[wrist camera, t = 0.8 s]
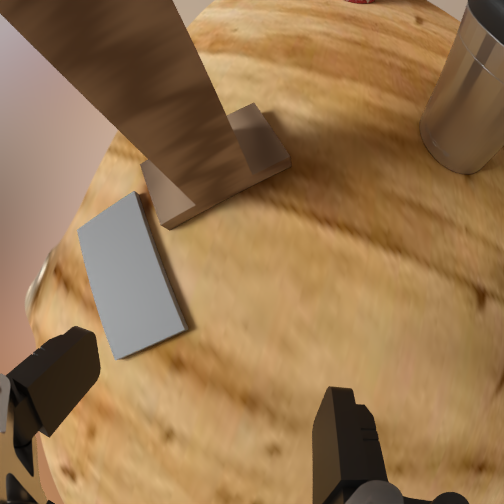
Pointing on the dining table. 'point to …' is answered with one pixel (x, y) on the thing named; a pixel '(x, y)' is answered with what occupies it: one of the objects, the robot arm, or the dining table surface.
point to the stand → (154, 97)
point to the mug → (360, 1)
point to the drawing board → (129, 279)
